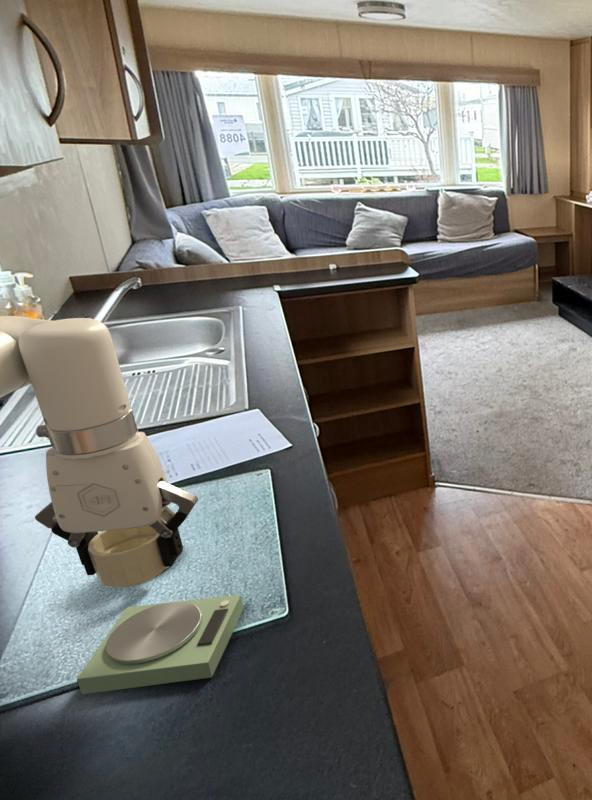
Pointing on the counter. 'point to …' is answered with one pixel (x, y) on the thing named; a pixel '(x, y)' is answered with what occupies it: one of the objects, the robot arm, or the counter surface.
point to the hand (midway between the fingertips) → (135, 562)
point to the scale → (176, 666)
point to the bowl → (126, 556)
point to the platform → (154, 632)
